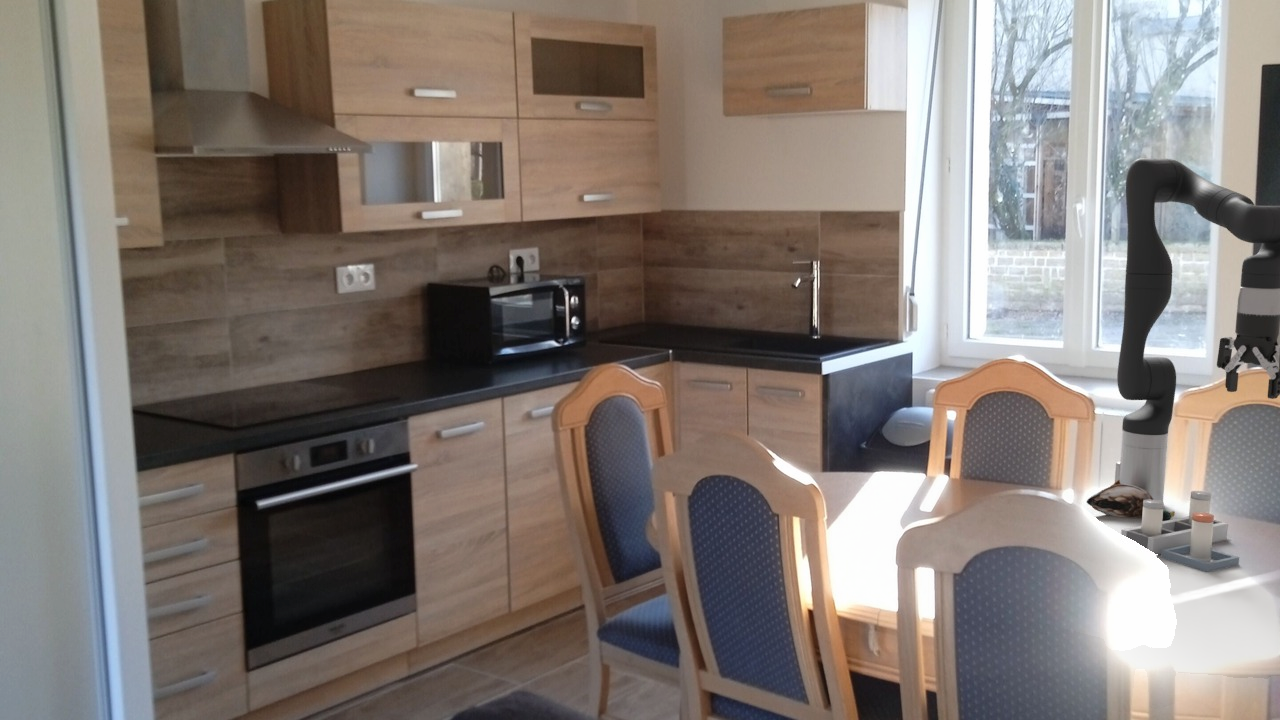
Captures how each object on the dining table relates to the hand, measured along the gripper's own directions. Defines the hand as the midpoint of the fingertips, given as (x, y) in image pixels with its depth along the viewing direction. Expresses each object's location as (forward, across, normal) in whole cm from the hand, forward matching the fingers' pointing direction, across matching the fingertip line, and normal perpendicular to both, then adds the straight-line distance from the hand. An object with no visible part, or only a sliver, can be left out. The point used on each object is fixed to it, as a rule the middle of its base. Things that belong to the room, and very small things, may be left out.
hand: (1251, 394), depth 240 cm
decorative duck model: (+30, +22, +6) cm, 38 cm away
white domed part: (+29, +5, +6) cm, 30 cm away
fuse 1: (+29, +5, +20) cm, 35 cm away
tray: (+30, -5, +19) cm, 36 cm away
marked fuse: (+29, -5, +19) cm, 35 cm away
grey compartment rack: (+30, +5, +13) cm, 33 cm away
